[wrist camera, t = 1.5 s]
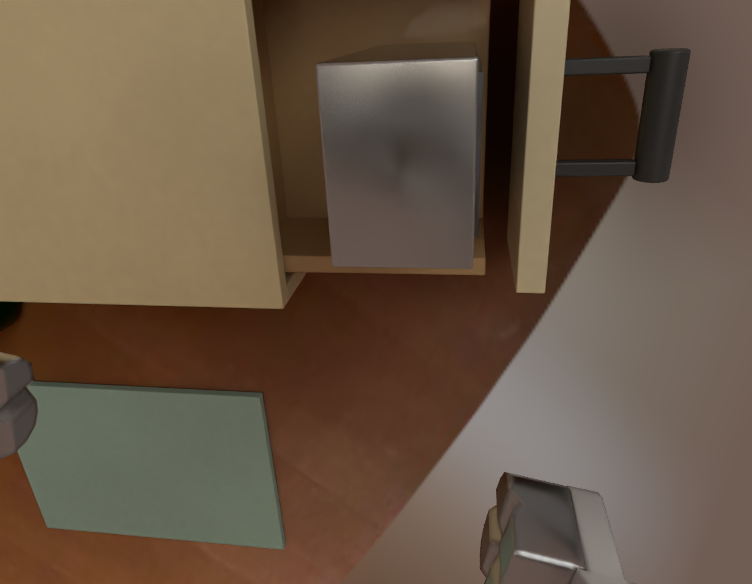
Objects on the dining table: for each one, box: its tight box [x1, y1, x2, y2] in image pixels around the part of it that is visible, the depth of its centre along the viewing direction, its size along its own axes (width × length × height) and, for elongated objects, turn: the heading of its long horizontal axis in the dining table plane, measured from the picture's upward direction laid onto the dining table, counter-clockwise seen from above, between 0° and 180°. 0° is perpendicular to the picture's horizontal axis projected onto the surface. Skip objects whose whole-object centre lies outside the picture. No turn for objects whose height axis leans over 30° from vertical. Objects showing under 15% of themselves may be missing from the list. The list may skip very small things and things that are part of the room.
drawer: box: [251, 0, 691, 293], centre depth 25 cm, size 18×13×7 cm
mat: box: [17, 381, 286, 549], centre depth 42 cm, size 20×14×1 cm
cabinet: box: [0, 0, 307, 309], centre depth 27 cm, size 15×15×9 cm
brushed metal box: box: [315, 41, 483, 269], centre depth 22 cm, size 4×6×12 cm
